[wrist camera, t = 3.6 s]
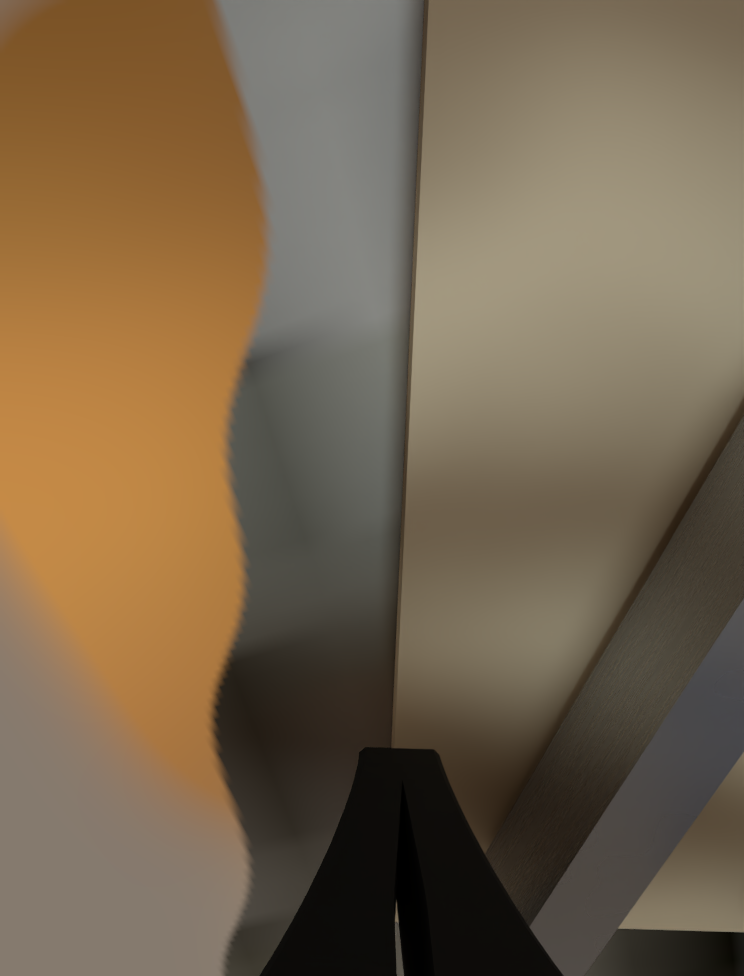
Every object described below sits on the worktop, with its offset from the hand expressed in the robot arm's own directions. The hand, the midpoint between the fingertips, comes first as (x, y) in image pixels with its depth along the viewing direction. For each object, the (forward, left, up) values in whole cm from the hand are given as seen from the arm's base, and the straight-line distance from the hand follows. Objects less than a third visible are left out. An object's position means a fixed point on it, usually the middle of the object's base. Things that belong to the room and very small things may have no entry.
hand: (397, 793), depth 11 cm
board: (+4, -6, -3) cm, 8 cm away
